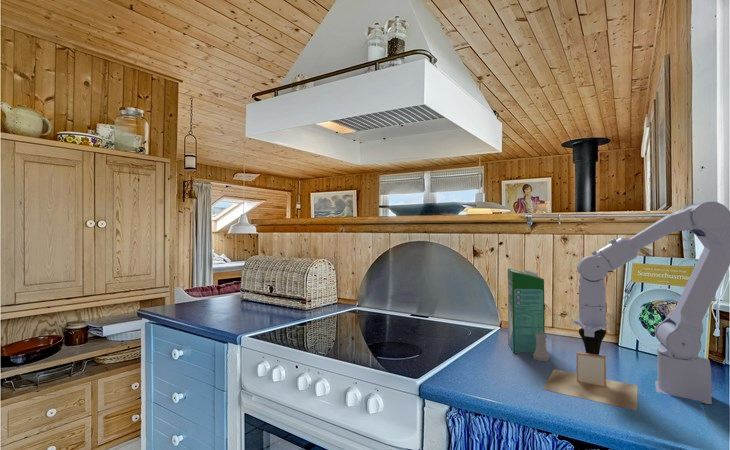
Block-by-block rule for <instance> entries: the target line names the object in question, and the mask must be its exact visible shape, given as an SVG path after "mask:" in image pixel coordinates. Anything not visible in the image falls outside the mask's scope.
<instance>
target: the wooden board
mask: <svg viewBox="0 0 730 450" xmlns="http://www.w3.org/2000/svg"><path fill="white" fill-rule="evenodd" d="M542 390H544V391H547V392H548V391H549V392H553V393H557V394H562V395H566V396H571V397H575V398H580V399H584V400H588V401H593V402H597V403H602V404H606V405H610V406H615V407H620V408H623V409H628V410H632V411H638V385H637V384H633V383H628V382H627V383H626V382H622V381H617V380H611V379H607V378H606V388H605V387H600V386H595V385H590V384H586V383H581V382H577V372H570V371H565V370H560V369H556V368H555V369H554V368H553V370H552V372H551V374H550V375H549V377H548V379H547V380H546V383H545V384H544V386H543V388H542Z"/></svg>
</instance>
